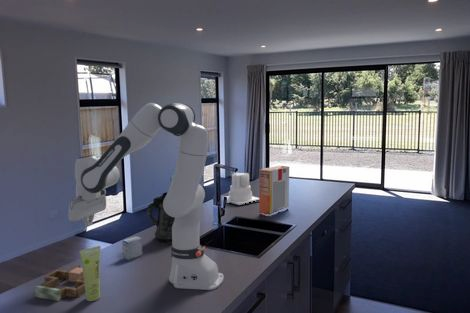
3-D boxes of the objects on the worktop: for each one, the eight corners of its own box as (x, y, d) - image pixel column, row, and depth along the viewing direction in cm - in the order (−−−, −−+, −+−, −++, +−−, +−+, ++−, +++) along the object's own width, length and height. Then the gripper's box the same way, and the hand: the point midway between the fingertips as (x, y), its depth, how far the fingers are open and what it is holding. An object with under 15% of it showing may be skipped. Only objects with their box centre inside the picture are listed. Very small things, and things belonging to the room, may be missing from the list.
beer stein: (192, 237, 211) (191, 192, 208) (167, 247, 195) (166, 199, 192) (170, 231, 220) (169, 188, 217) (144, 241, 204) (142, 195, 201)
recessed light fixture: (243, 196, 307) (243, 169, 305) (262, 201, 291) (262, 173, 288) (218, 201, 291) (218, 173, 289) (237, 207, 275) (237, 177, 272)
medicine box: (136, 253, 188) (136, 235, 187) (142, 255, 185) (142, 237, 184) (122, 258, 182) (122, 240, 181) (128, 260, 179) (128, 242, 178)
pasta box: (278, 207, 273) (279, 165, 269) (288, 209, 267) (289, 166, 264) (259, 214, 255) (259, 169, 251) (269, 217, 250) (270, 171, 246)
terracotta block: (87, 278, 161) (87, 268, 161) (79, 283, 156) (78, 273, 156) (77, 276, 163) (77, 267, 162) (69, 281, 158) (68, 272, 157)
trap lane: (108, 276, 162) (108, 267, 162) (69, 303, 140) (69, 292, 140) (68, 270, 168) (67, 261, 168) (24, 294, 146) (23, 284, 146)
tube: (95, 303, 140) (92, 251, 138) (82, 301, 141) (79, 250, 138) (102, 295, 146) (100, 245, 143) (90, 294, 146) (87, 244, 144)
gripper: (76, 199, 152) (78, 234, 154) (108, 189, 171) (109, 219, 173) (63, 198, 154) (65, 232, 156) (96, 188, 173) (97, 218, 175)
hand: (88, 225), depth 164 cm, fingers closed
